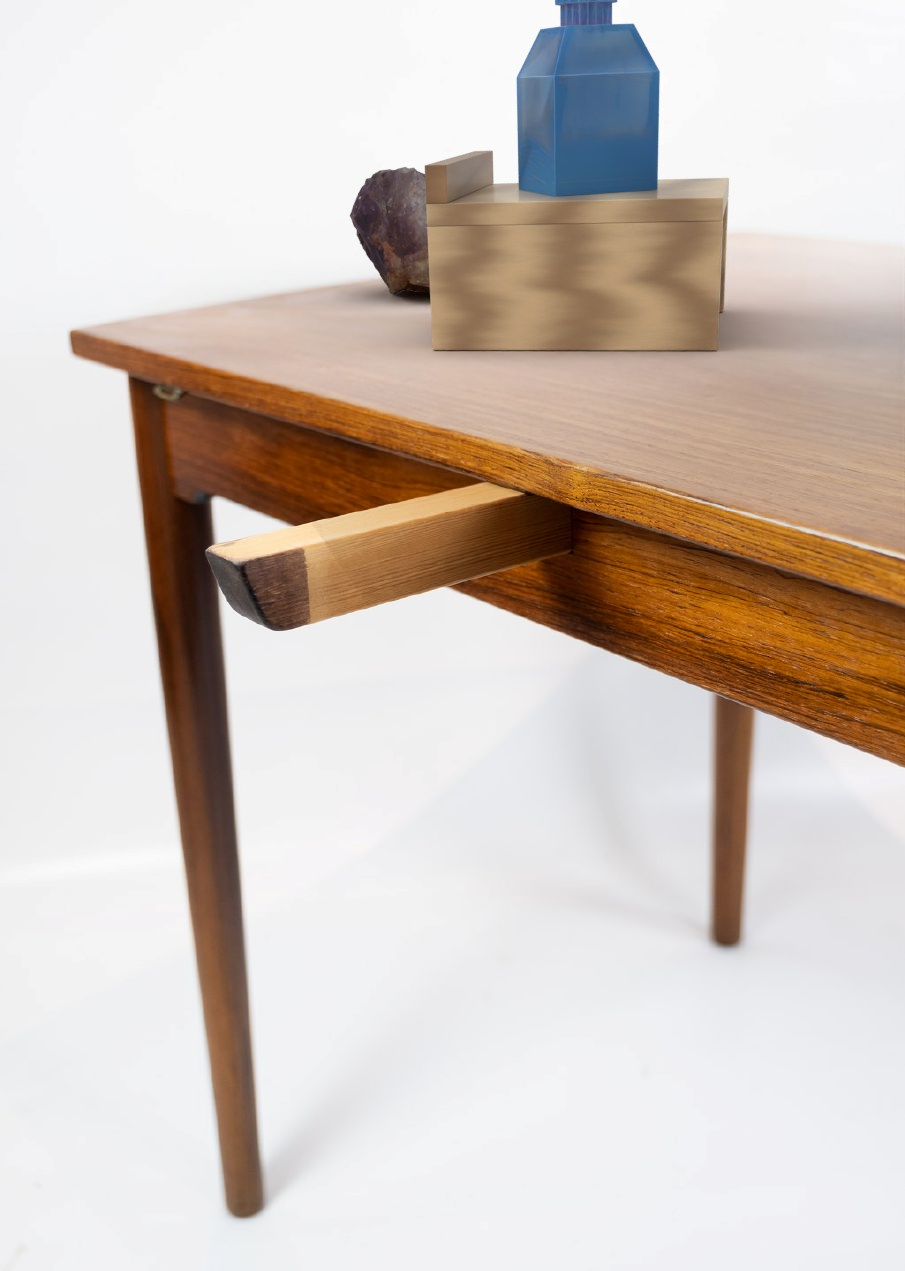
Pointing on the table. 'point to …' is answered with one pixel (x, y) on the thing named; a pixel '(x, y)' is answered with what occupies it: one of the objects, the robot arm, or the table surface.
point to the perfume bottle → (588, 106)
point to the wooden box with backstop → (573, 263)
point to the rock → (395, 227)
